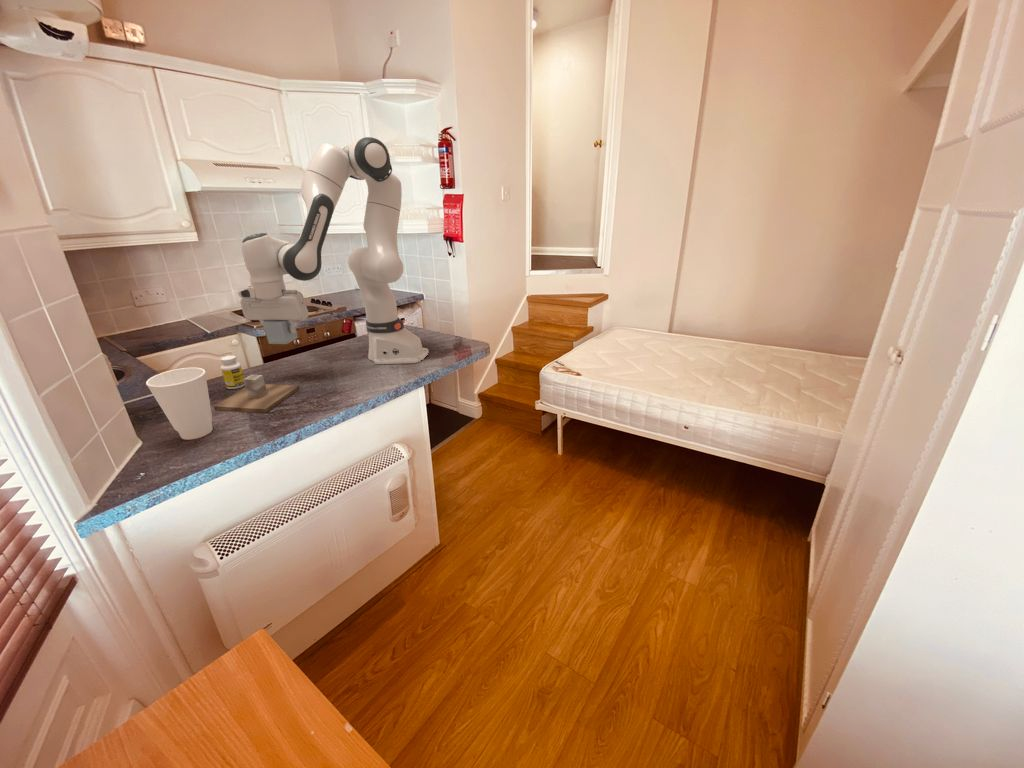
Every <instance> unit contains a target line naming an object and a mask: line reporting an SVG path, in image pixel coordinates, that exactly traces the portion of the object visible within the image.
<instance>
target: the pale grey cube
mask: <svg viewBox="0 0 1024 768" xmlns="http://www.w3.org/2000/svg"><path fill="white" fill-rule="evenodd" d="M290 325H291V323H289V321H288V320H267V321H265V322H263V325H262V327H263V328H264V332H265V335H266V339H267V342H268V344H269V345H270V344H271V345H288V344H289V343H291V342H293V341H295V340H296V339H299V336H298V331H297V327H296V326H295V329H296V332H295V333H289V332H288V328H290Z"/></svg>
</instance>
